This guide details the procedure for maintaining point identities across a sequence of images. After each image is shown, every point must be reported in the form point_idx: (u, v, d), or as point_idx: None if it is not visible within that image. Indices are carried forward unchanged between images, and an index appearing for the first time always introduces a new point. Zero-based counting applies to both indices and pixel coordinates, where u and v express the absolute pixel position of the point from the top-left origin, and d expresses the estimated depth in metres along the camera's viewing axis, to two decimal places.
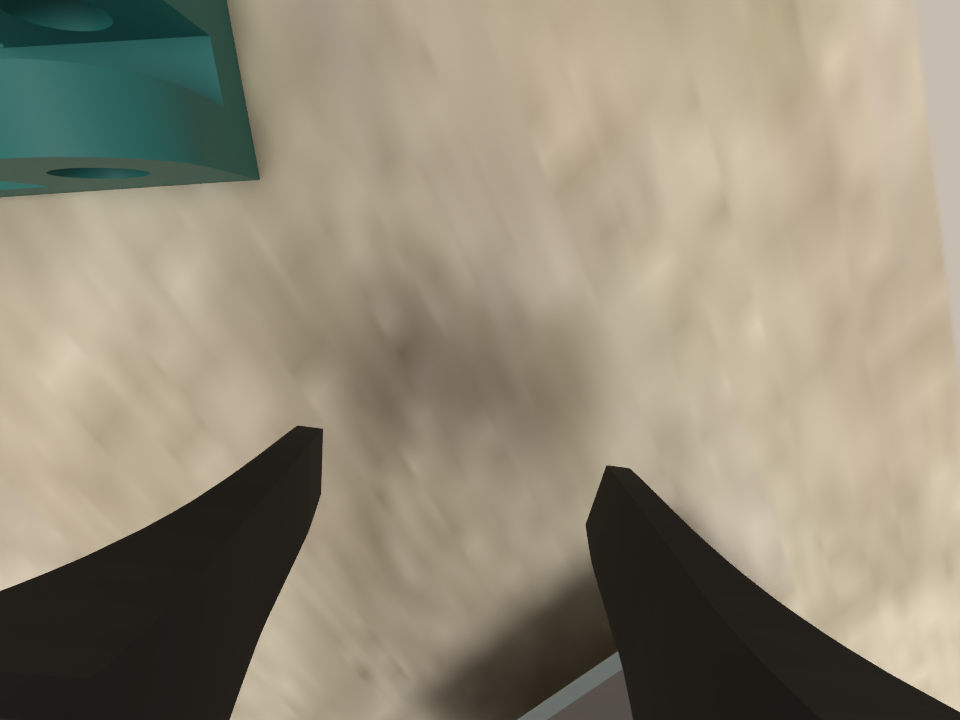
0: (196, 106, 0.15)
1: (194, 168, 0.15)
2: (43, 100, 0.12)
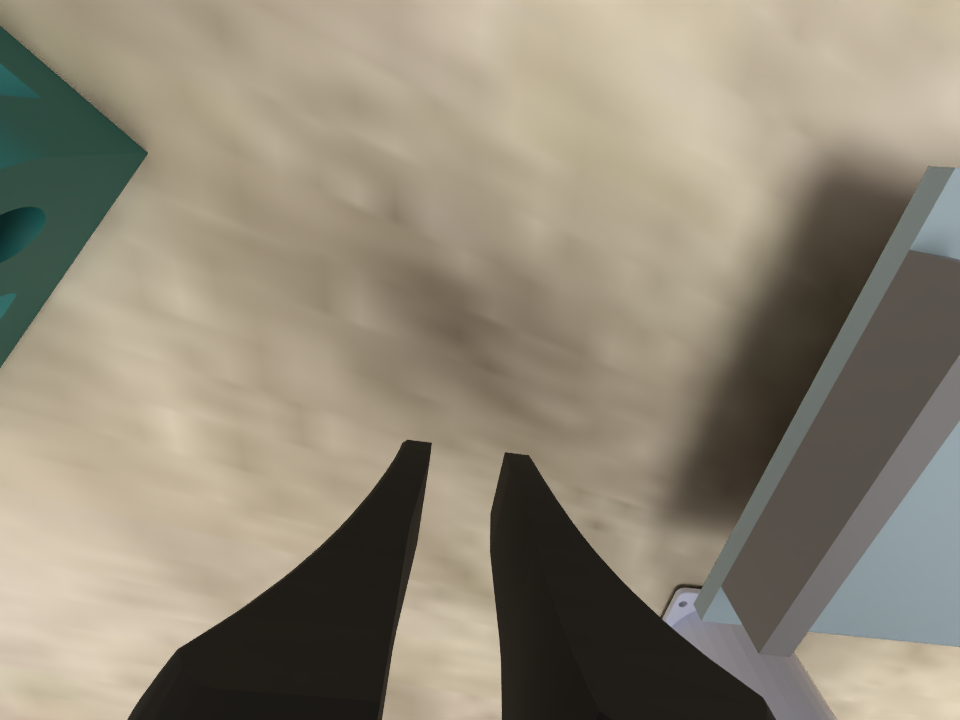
0: None
1: (53, 168, 0.14)
2: None
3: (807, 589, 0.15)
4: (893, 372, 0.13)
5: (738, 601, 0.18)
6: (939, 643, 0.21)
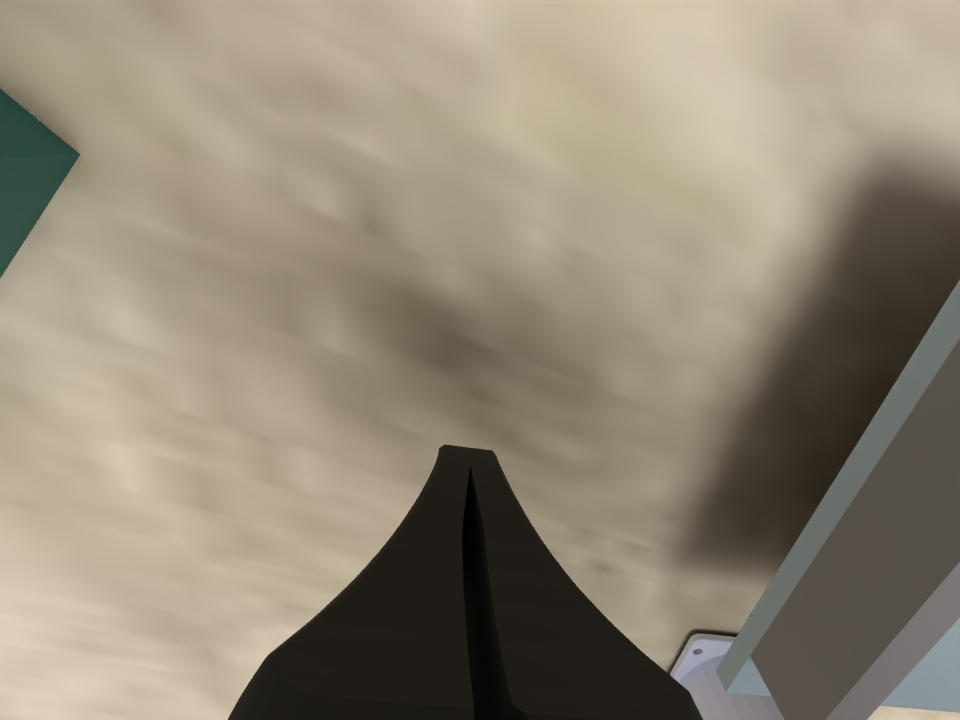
0: None
1: None
2: None
3: (864, 681, 0.13)
4: None
5: (772, 678, 0.15)
6: None
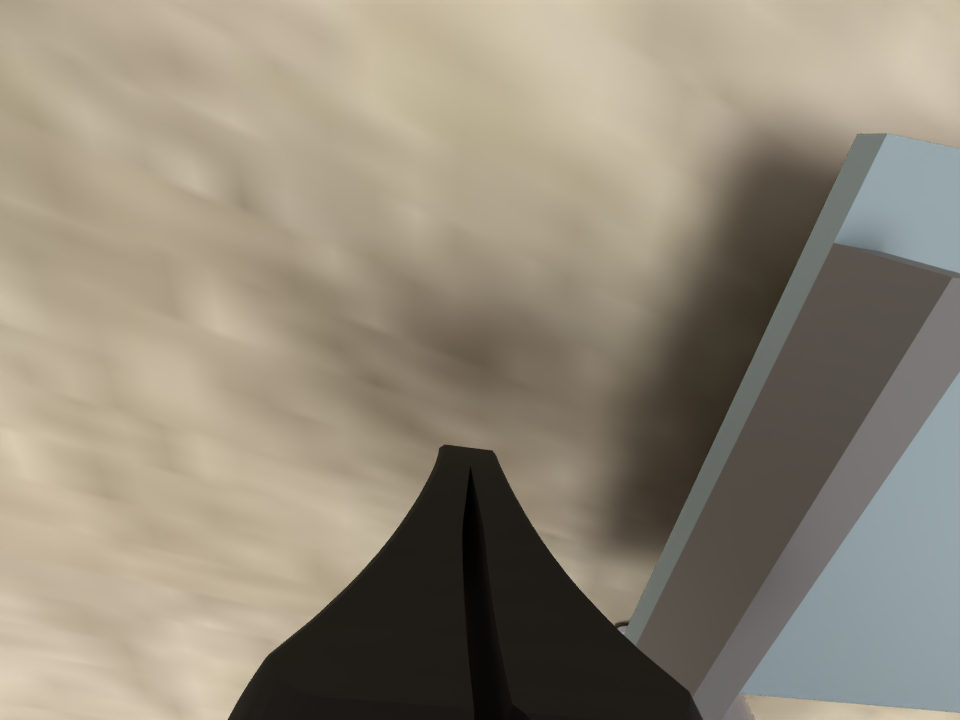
0: None
1: None
2: None
3: (717, 668, 0.12)
4: (812, 402, 0.10)
5: None
6: (899, 706, 0.18)
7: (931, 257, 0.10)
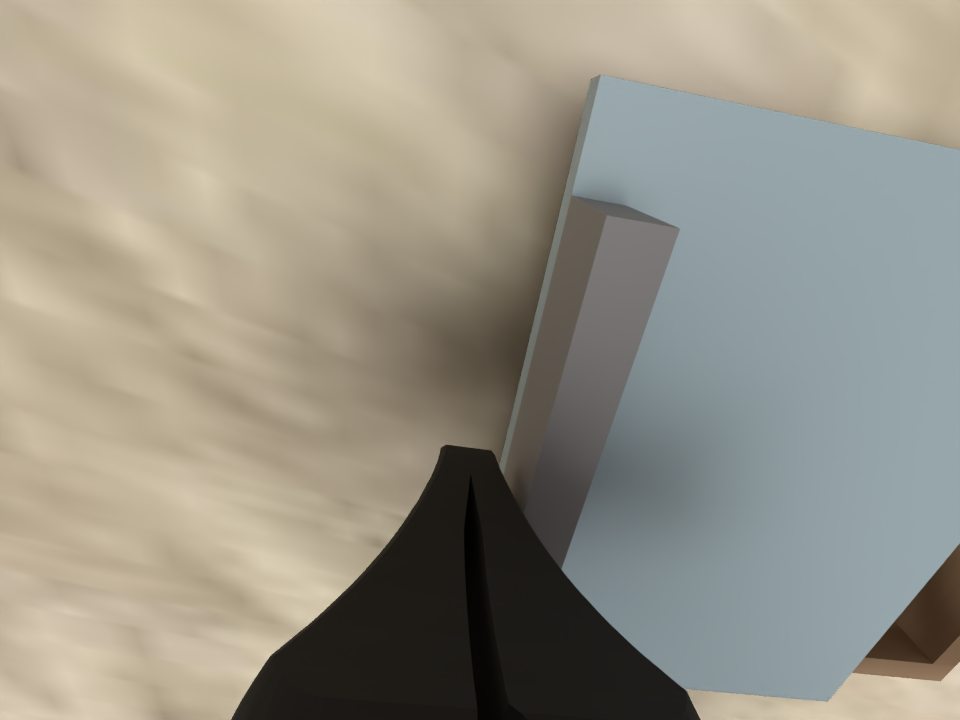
0: None
1: None
2: None
3: None
4: (546, 363, 0.10)
5: None
6: (755, 693, 0.17)
7: (680, 211, 0.10)
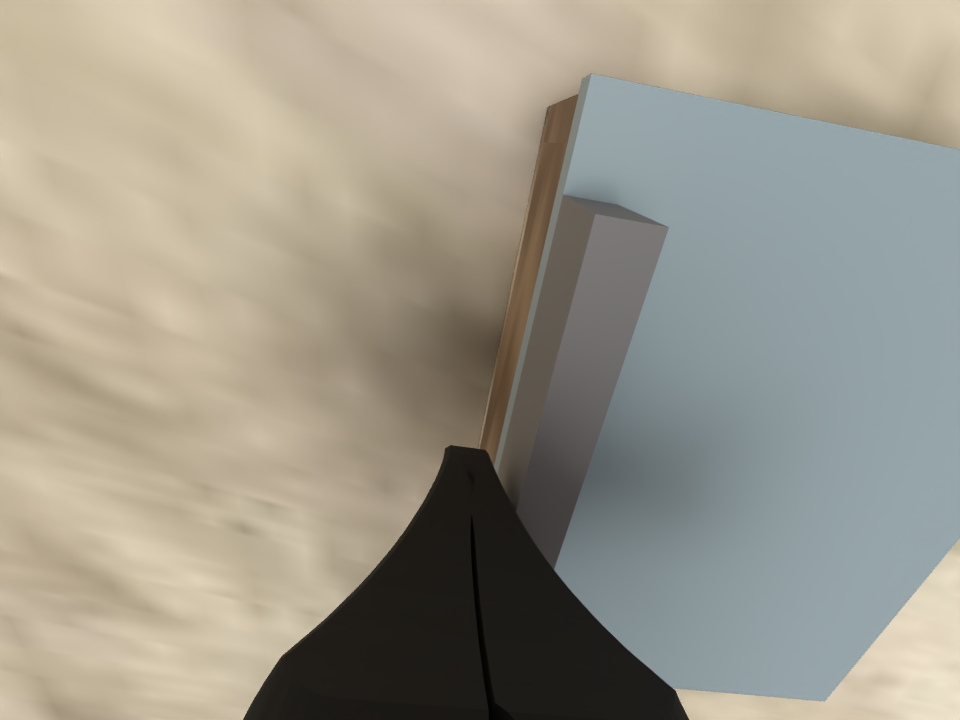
0: None
1: None
2: None
3: None
4: (538, 362, 0.10)
5: None
6: (752, 693, 0.17)
7: (672, 210, 0.10)
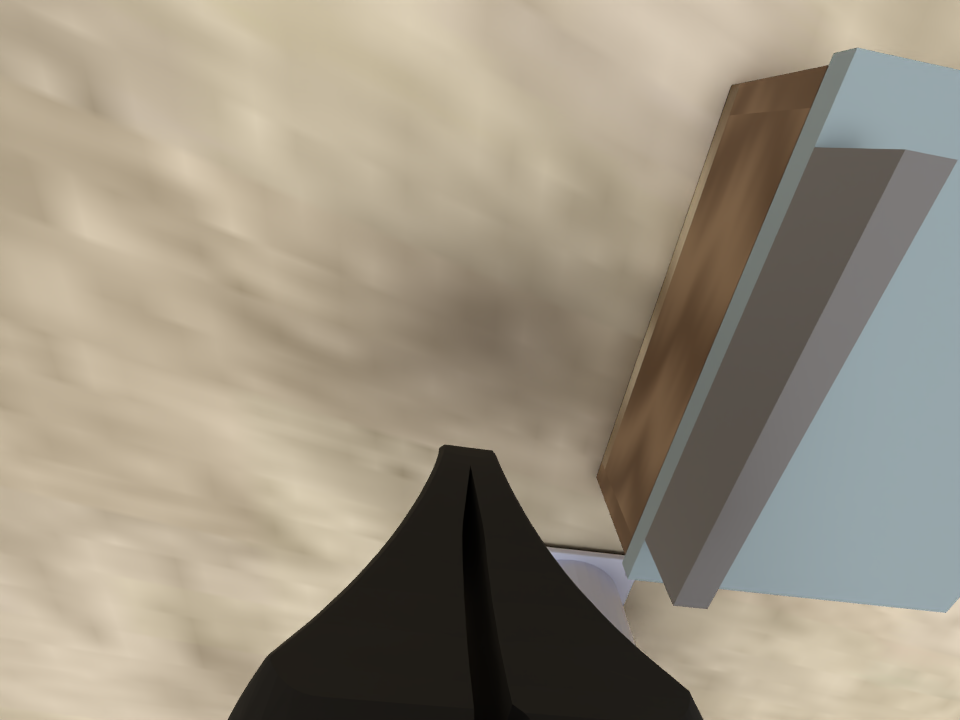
0: None
1: None
2: None
3: (717, 530, 0.14)
4: (796, 281, 0.12)
5: (658, 553, 0.17)
6: (884, 604, 0.20)
7: None
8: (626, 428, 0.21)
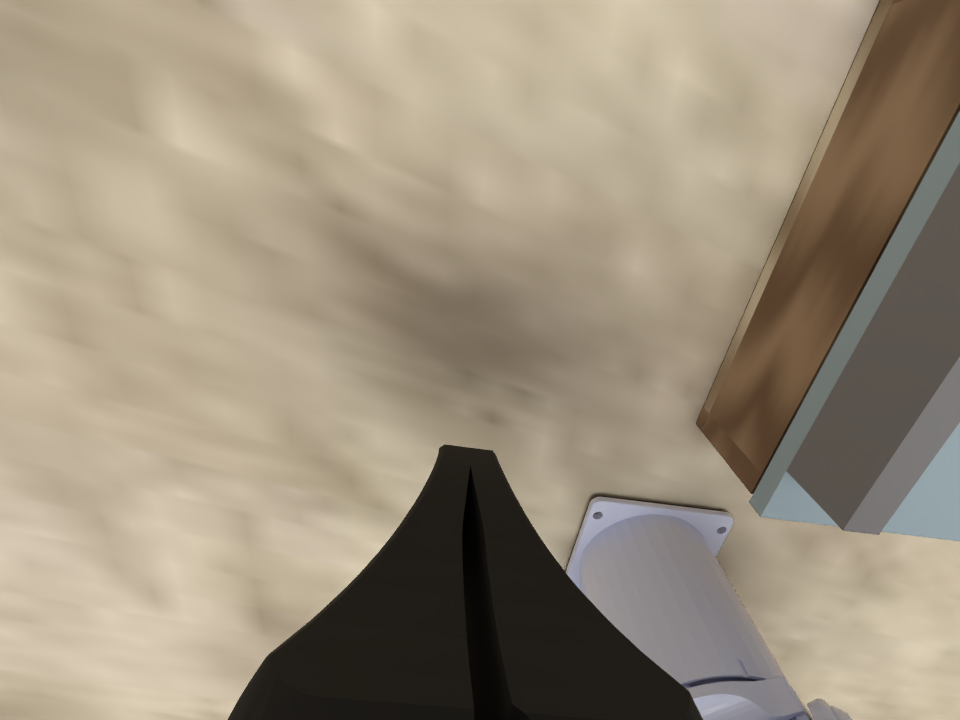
0: None
1: None
2: None
3: (910, 439, 0.13)
4: None
5: (811, 480, 0.15)
6: None
7: None
8: (742, 364, 0.20)
